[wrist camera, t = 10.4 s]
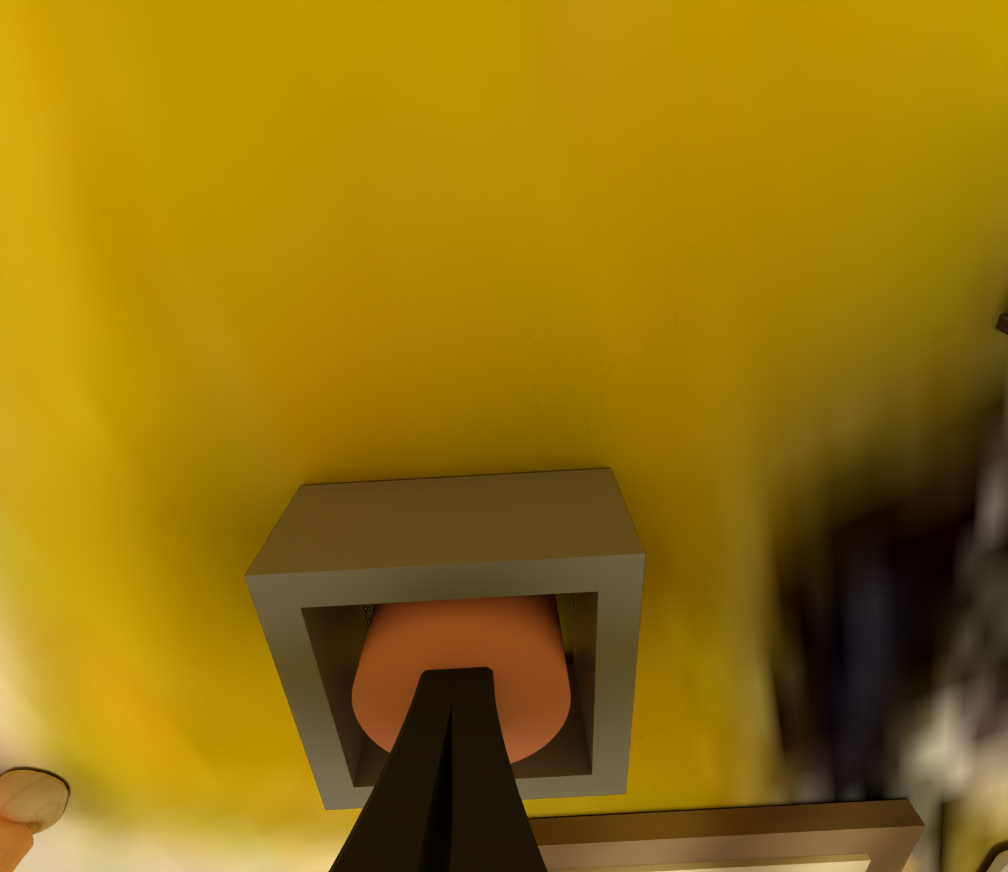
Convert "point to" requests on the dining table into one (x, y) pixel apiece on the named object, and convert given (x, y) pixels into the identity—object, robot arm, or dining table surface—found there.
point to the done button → (467, 663)
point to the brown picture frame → (735, 839)
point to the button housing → (444, 576)
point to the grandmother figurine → (26, 811)
